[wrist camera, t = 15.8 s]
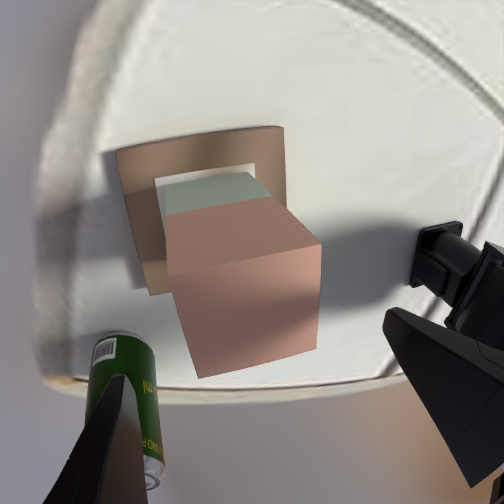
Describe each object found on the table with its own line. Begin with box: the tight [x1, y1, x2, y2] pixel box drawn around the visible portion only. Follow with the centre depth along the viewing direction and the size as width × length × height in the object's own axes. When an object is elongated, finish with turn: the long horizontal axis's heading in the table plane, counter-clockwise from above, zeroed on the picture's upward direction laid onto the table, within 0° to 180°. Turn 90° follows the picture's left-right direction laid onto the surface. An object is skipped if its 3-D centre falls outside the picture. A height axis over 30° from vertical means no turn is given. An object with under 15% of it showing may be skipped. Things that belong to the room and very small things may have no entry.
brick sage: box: [165, 172, 273, 215], centre depth 17 cm, size 5×5×5 cm
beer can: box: [84, 331, 165, 492], centre depth 19 cm, size 5×5×12 cm
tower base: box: [116, 126, 287, 296], centre depth 20 cm, size 10×10×1 cm
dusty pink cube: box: [165, 196, 322, 379], centre depth 13 cm, size 5×5×5 cm
